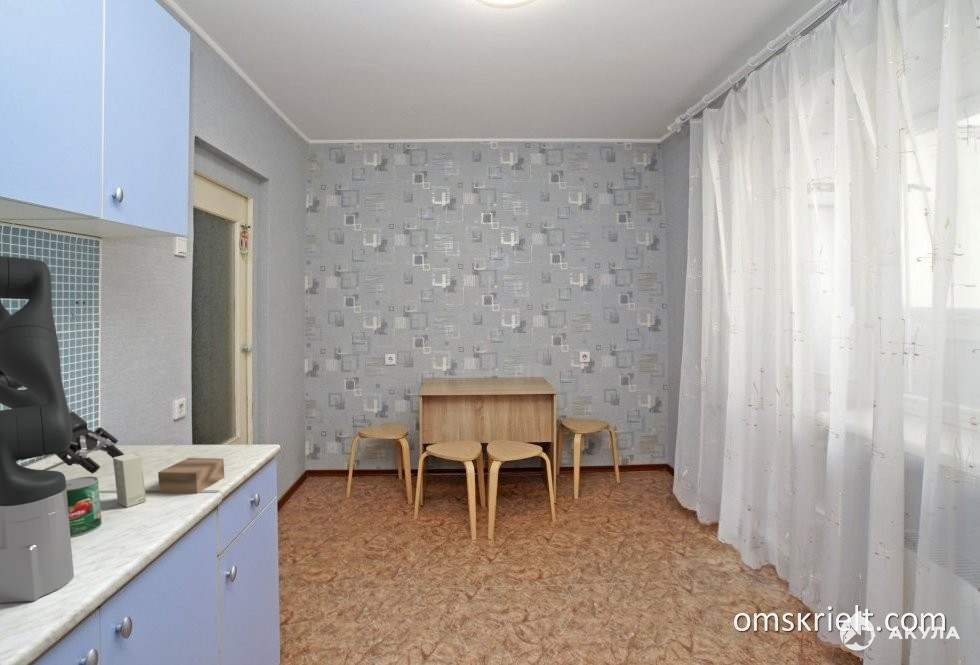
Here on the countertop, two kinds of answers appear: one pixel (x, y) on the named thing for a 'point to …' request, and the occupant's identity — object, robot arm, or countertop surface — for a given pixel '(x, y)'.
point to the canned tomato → (83, 505)
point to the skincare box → (129, 479)
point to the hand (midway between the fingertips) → (109, 464)
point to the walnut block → (191, 475)
